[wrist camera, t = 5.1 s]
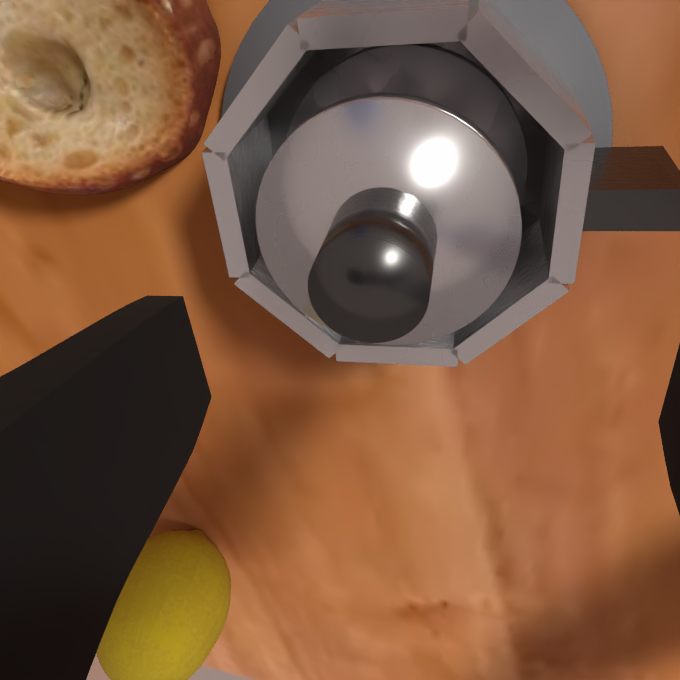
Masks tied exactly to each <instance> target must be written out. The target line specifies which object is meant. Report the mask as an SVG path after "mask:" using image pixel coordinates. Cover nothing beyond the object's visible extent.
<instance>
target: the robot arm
mask: <svg viewBox="0 0 680 680" xmlns="http://www.w3.org/2000/svg"><path fill="white" fill-rule="evenodd" d="M210 400H211V394H210V390H209V387H208V383H207V379H206V376H205V372H204V369H203V365H202V362H201V358H200V355H199V351H198V348H197V344H196V341H195V337H194V334H193V330H192V327H191V323H190V320H189V316H188V313H187V309H186V306H185V302H184V299H183V296H146V297H143V298H141V299H139V300H137V301H134V302H132V303H130V304H128V305H126V306H124V307H123V308H121V309H119V310H117V311H115V312H113V313H111V314H110V315H108V316H106V317H104V318H103V319H101V320H99V321H97V322H96V323H94V324H92V325H90V326H89V327H87V328H85V329H83V330H82V331H80V332H78V333H77V334H75V335H73V336H71V337H70V338H68V339H66V340H65V341H63V342H61V343H59V344H58V345H56V346H54V347H53V348H51V349H49V350H47V351H46V352H44V353H42V354H40V355H39V356H37V357H35V358H34V359H32V360H30V361H28V362H27V363H25V364H23V365H21V366H20V367H18V368H16V369H14V370H12V371H10V372H8V373H7V374H5V375H3V376H1V377H0V680H86V678H87V675H88V673H89V670H90V667H91V665H92V662H93V659H94V657H95V654H96V652H97V649H98V647H99V644H100V642H101V639H102V637H103V634H104V632H105V629H106V627H107V624H108V622H109V619H110V617H111V614H112V612H113V609H114V607H115V604H116V602H117V600H118V597H119V595H120V593H121V591H122V589H123V587H124V585H125V583H126V580H127V578H128V576H129V574H130V572H131V570H132V568H133V566H134V564H135V562H136V560H137V559H138V557H139V555H140V553H141V551H142V549H143V547H144V545H145V543H146V541H147V539H148V537H149V536H150V534H151V532H152V530H153V528H154V526H155V524H156V522H157V520H158V518H159V516H160V514H161V513H162V511H163V509H164V507H165V505H166V503H167V501H168V499H169V497H170V495H171V493H172V491H173V489H174V487H175V485H176V483H177V482H178V480H179V478H180V476H181V474H182V472H183V470H184V468H185V466H186V464H187V462H188V460H189V458H190V456H191V454H192V452H193V449H194V446H195V444H196V441H197V438H198V435H199V433H200V430H201V427H202V424H203V421H204V418H205V415H206V412H207V409H208V406H209V403H210ZM659 427H660V433H661V439H662V445H663V450H664V456H665V461H666V466H667V471H668V476H669V481H670V486H671V490H672V493H673V496H674V499H675V502H676V505H677V508H678V511H679V514H680V345H679V348H678V352H677V356H676V360H675V363H674V367H673V371H672V374H671V378H670V382H669V385H668V389H667V393H666V396H665V400H664V404H663V407H662V411H661V415H660V418H659Z"/></svg>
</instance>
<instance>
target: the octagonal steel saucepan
mask: <svg viewBox="0 0 680 680" xmlns="http://www.w3.org/2000/svg"><path fill="white" fill-rule="evenodd" d="M421 43H427V44H433V45H437V46H440V47H443V48H447V49H450V50H452V51H454V52H457V53H459V54H461V55H463V56H465V57H467V58H468V59H470V60H471V61H473V62H474V63H476V64H477V65H479V66H480V67H482V68H483V69H484V70H485V71H486V72H487V73H488V74H490V75H491V76H492V77H493V78H494V79H495V80H496V82H497V83H498V84H499V85H500V86H501V88H502V89H503V90H504V91H505V93H506V94H507V96H508V98H509V99H510V101H511V102H512V104H513V106H514V108H515V110H516V113H517V115H518V117H519V120H520V122H521V126H522V130H523V134H524V138H525V145H526V153H527V179H526V185H525V191H524V194H523V198H522V201H521V204H520V211H521V220H522V235H521V244H520V250H519V256H518V259H517V262H516V265H515V268H514V271H513V273H512V275H511V277H510V279H509V281H508V283H507V285H506V286H505V288H504V289H503V291H502V292H501V294H500V295H499V297H498V298H497V299H496V300H495V301H494V302H493V303H492V305H491V306H490V307H489V308H488V309H487V310H486V311H485V312H483V313H482V314H481V315H480V316H479V317H478V318H476V319H475V320H474V321H472V322H470V323H469V324H467V325H466V326H464V327H463V328H461V329H459V330H457V331H455V332H453V333H451V334H449V335H446V336H443V337H440V338H437V339H435V340H430V341H426V342H422V343H415V344H407V345H384V344H373V343H364V342H359V341H355V340H351V339H348V338H346V337H344V336H342V335H340V334H338V333H336V332H334V331H331V330H329V329H328V328H326V327H324V326H322V325H320V324H319V323H317V322H315V321H314V320H313V319H311V318H310V317H308V316H307V315H306V314H304V313H303V312H302V311H301V310H300V309H299V308H297V307H296V306H295V305H294V304H293V303H292V302H291V301H290V300H289V299H288V297H287V296H286V295H285V294H284V293H283V292H282V290H281V289H280V288H279V286H278V285H277V283H276V282H275V281H274V279H273V277H272V275H271V273H270V272H269V270H268V268H267V266H266V263H265V261H264V258H263V256H262V253H261V250H260V246H259V242H258V238H257V230H256V203H257V197H258V191H259V188H260V185H261V182H262V178H263V175H264V173H265V171H266V169H267V167H268V165H269V163H270V161H271V160H272V158H273V157H274V155H275V154H276V152H277V151H278V149H279V148H280V147H281V145H282V144H283V143H284V141H285V140H286V139H287V134H288V131H289V128H290V125H291V122H292V119H293V117H294V115H295V113H296V111H297V109H298V107H299V105H300V103H301V102H302V100H303V99H304V97H305V96H306V94H307V93H308V91H309V90H310V89H311V88H312V87H313V86H314V85H315V84H316V82H317V81H318V80H319V79H320V78H321V77H322V76H323V75H324V74H325V73H326V72H327V71H328V70H330V69H331V68H332V67H333V66H334V65H336V64H337V63H339V62H340V61H342V60H344V59H345V58H347V57H348V56H350V55H352V54H354V53H357V52H359V51H361V50H364V49H366V48H370V47H373V46H387V45H404V44H421ZM595 144H596V143H595V140H594V138H593V136H592V130H591V128H590V126H589V123H588V121H587V119H586V116H585V114H584V112H583V109H582V107H581V105H580V102H579V100H578V98H577V95H576V93H575V91H574V88H573V86H572V85H571V84H570V83H569V82H568V81H567V80H566V79H565V78H564V77H563V76H562V75H561V73H560V72H559V71H558V70H557V69H556V68H555V67H554V66H553V65H552V64H551V63H550V62H549V60H548V59H547V58H546V57H545V56H544V55H543V54H542V53H541V52H540V51H539V50H538V49H537V47H536V46H535V45H534V44H533V43H532V42H531V41H530V40H529V39H528V38H527V37H526V36H525V34H524V33H523V32H522V31H521V30H520V29H519V28H518V27H517V26H516V25H515V24H514V22H513V21H512V20H511V19H510V18H509V17H508V16H507V15H506V14H505V13H504V12H503V11H502V9H501V8H500V7H499V6H498V5H497V4H496V3H495V2H494V1H493V0H321V1H320V2H318V3H317V4H316V5H314V6H313V7H311V8H310V9H308V10H307V11H306V12H304V13H303V14H301V15H300V16H298V17H297V18H296V19H294V20H293V21H291V22H290V23H288V24H287V26H286V27H285V29H284V30H283V31H282V33H281V34H280V36H279V37H278V39H277V40H276V41H275V43H274V44H273V46H272V47H271V48H270V50H269V51H268V53H267V54H266V56H265V57H264V58H263V60H262V61H261V63H260V64H259V66H258V67H257V68H256V70H255V71H254V73H253V74H252V76H251V77H250V78H249V80H248V81H247V83H246V84H245V85H244V87H243V88H242V90H241V91H240V93H239V94H238V95H237V97H236V98H235V100H234V101H233V103H232V104H231V105H230V107H229V108H228V110H227V111H226V113H225V114H224V115H223V117H222V118H221V120H220V121H219V122H218V124H217V125H216V127H215V128H214V130H213V131H212V132H211V134H210V135H209V137H208V138H207V140H206V141H205V142H204V145H205V146H207V148H206V149H205V150H204V151H203V152H202V155H203V160H204V164H205V169H206V173H207V178H208V183H209V187H210V192H211V196H212V201H213V205H214V210H215V214H216V219H217V223H218V228H219V233H220V237H221V242H222V246H223V251H224V255H225V260H226V264H227V269H228V273H229V277H238V278H237V280H236V281H235V283H234V285H236V286H237V287H238V288H239V289H241V290H242V291H243V292H245V293H246V294H247V295H248V296H250V297H251V298H252V299H254V300H255V301H256V302H257V303H259V304H260V305H261V306H263V307H264V308H265V309H266V310H268V311H269V312H270V313H271V314H273V315H274V316H275V317H277V318H278V319H279V320H280V321H282V322H283V323H284V324H286V325H287V326H288V327H289V328H291V329H292V330H293V331H294V332H296V333H297V334H298V335H300V336H301V337H302V338H303V339H305V340H306V341H307V342H309V343H310V344H311V345H312V346H314V347H315V348H316V349H318V350H319V351H320V352H321V353H323V354H324V355H325V356H326V357H328V358H330V357H331V356H333V355H334V354H335V353H336V361H342V362H364V363H385V364H407V365H428V366H450V367H458V359H459V360H460V361H462V362H463V363H464V364H465V365H466V364H467V363H468V362H470V361H471V360H473V359H474V358H476V357H477V356H478V355H480V354H481V353H483V352H484V351H485V350H487V349H488V348H490V347H491V346H493V345H494V344H495V343H497V342H498V341H500V340H501V339H502V338H504V337H505V336H507V335H508V334H510V333H511V332H512V331H514V330H515V329H517V328H518V327H519V326H521V325H522V324H524V323H525V322H526V321H528V320H529V319H531V318H532V317H534V316H535V315H536V314H538V313H539V312H541V311H542V310H543V309H545V308H546V307H548V306H549V305H551V304H552V303H553V302H555V301H556V300H558V299H559V298H560V297H562V296H563V295H565V294H566V293H567V292H569V287H568V284H574V282H575V275H576V269H577V262H578V255H579V249H580V242H581V236H582V231H680V171H679V169H678V168H677V166H676V165H675V163H674V162H673V160H672V159H671V157H670V156H669V154H668V153H667V151H666V150H665V148H664V147H663V146H646V147H603V148H595Z"/></svg>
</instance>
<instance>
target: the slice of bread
mask: <svg viewBox="0 0 680 680" xmlns="http://www.w3.org/2000/svg"><path fill="white" fill-rule="evenodd" d="M220 58H221V44H220V38H219V33H218V29H217V26H216V23H215V21H214V19H213V17H212V15H211V13H210V10H209V7H208V5H207V2H206V0H0V181H3V182H6V183H10V184H13V185H17V186H21V187H25V188H29V189H33V190H37V191H42V192H48V193H54V194H70V195H89V194H99V193H105V192H110V191H115V190H119V189H123V188H126V187H129V186H132V185H134V184H136V183H138V182H141V181H143V180H145V179H147V178H149V177H151V176H153V175H155V174H157V173H159V172H160V171H162V170H164V169H166V168H168V167H169V166H171V165H173V164H175V163H177V162H178V161H180V160H182V159H183V158H185V157H186V156H188V155H189V154H190V153H191V152H192V151H193V150H194V148H195V147H196V145H197V144H198V142H199V140H200V138H201V136H202V133H203V130H204V127H205V122H206V119H207V115H208V111H209V108H210V105H211V101H212V97H213V94H214V89H215V85H216V81H217V76H218V71H219V65H220Z"/></svg>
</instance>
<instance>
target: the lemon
mask: <svg viewBox="0 0 680 680" xmlns="http://www.w3.org/2000/svg"><path fill="white" fill-rule="evenodd" d="M230 595H231V578H230V573H229V569H228V567H227V564H226V561H225V559H224V557H223V555H222V554H221V552H220V551H219V549H218V548H217V547H216V546H215V545H214V544H213V543H212V542H211V541H209V540H208V539H206V537H205V535H204V533H203V532H202V531H200V530H197V529H195V530H191V531H183V530H173V531H166V532H163V533H159V534H156V535H153V536H151V537H150V538H148V539H147V541H146V543H145V545H144V547H143V549H142V551H141V553H140V555H139V557H138V559H137V560H136V562H135V564H134V566H133V568H132V570H131V572H130V574H129V576H128V578H127V580H126V583H125V585H124V587H123V589H122V591H121V593H120V595H119V597H118V600H117V602H116V604H115V607H114V609H113V612H112V614H111V617H110V619H109V622H108V624H107V627H106V629H105V632H104V634H103V637H102V639H101V642H100V644H99V647H98V649H97V652H96V653H97V657H98V659H99V661H100V664H101V666H102V668H103V670H104V671H105V673H106V674H107V676H108V677H109V678H110V679H111V680H187V679H188V678H189V677H191V676H192V675H193V674H194V673H195V672H196V671H197V670H198V669H199V667H200V666H201V665H202V663H203V662H204V661H205V659H206V658H207V656H208V654H209V653H210V651H211V650H212V648H213V647H214V645H215V643H216V641H217V640H218V638H219V635H220V633H221V631H222V629H223V626H224V624H225V621H226V618H227V614H228V610H229V605H230Z"/></svg>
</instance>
